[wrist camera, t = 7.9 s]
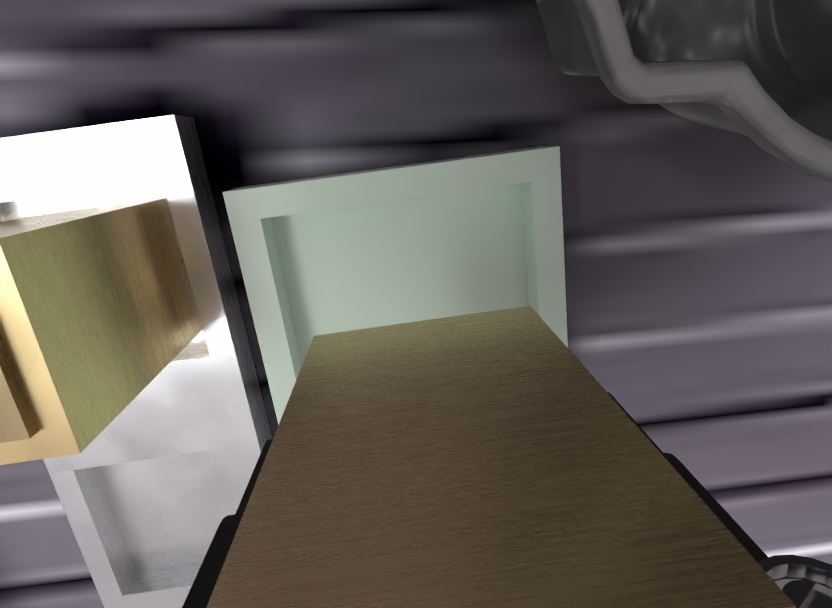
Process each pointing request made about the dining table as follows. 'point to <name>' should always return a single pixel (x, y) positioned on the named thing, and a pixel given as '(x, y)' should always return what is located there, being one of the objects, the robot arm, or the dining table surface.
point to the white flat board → (173, 387)
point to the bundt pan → (711, 64)
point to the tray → (398, 249)
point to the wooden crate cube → (473, 485)
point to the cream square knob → (85, 322)
